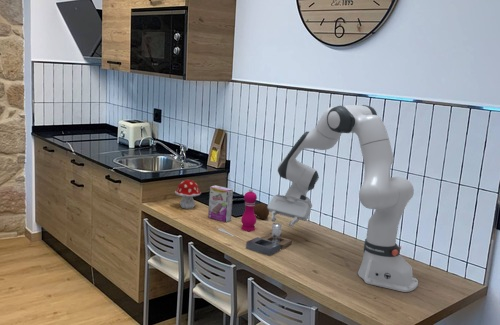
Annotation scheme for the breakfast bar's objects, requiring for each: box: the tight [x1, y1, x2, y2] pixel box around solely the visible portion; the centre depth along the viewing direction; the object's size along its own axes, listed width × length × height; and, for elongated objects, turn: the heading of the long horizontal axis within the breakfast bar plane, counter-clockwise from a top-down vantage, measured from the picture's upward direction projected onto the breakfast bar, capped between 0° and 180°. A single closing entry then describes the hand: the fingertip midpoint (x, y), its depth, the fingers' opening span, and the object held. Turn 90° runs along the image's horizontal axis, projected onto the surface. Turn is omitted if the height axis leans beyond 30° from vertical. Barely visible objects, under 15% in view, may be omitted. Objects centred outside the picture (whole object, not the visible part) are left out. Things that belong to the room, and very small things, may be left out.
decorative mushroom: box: [174, 179, 202, 210], centre depth 272 cm, size 14×14×15 cm
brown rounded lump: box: [254, 202, 270, 220], centre depth 263 cm, size 7×10×8 cm
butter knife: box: [217, 228, 235, 237], centre depth 233 cm, size 1×24×3 cm
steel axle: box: [271, 222, 282, 243], centre depth 226 cm, size 4×4×9 cm
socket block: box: [245, 236, 281, 257], centre depth 219 cm, size 12×8×3 cm
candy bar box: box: [207, 184, 234, 223], centre depth 255 cm, size 11×5×16 cm, turn 58°
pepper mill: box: [240, 188, 258, 232], centre depth 242 cm, size 7×7×20 cm
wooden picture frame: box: [260, 233, 293, 251], centre depth 227 cm, size 12×8×2 cm
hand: (281, 223), depth 229 cm, fingers open, 8 cm apart
